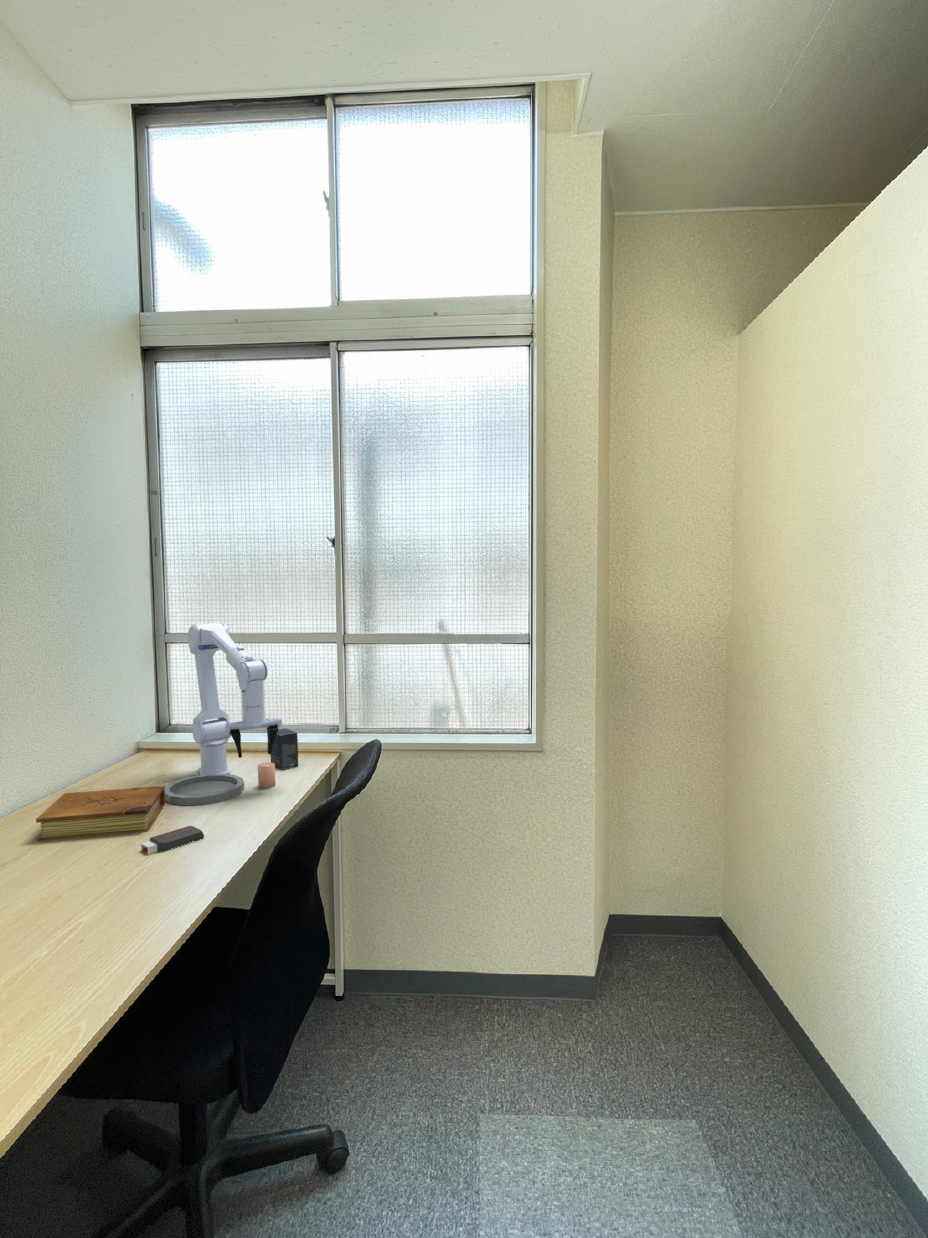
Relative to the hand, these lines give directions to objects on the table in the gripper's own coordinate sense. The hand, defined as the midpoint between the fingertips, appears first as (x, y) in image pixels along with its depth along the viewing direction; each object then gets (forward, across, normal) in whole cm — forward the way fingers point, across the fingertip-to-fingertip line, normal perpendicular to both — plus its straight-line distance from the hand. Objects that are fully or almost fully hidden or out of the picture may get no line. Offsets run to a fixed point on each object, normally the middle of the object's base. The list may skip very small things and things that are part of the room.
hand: (254, 755), depth 186 cm
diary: (+10, -36, -8) cm, 38 cm away
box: (+10, +11, +20) cm, 25 cm away
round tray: (+10, -13, +4) cm, 16 cm away
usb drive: (+10, -22, -30) cm, 38 cm away
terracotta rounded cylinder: (+10, +3, +2) cm, 10 cm away
